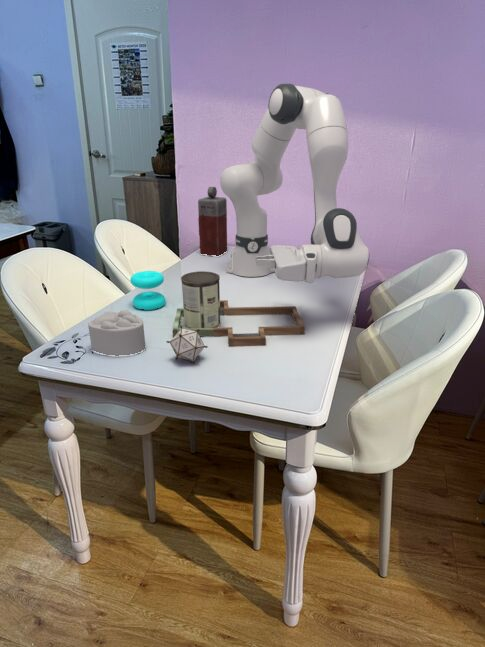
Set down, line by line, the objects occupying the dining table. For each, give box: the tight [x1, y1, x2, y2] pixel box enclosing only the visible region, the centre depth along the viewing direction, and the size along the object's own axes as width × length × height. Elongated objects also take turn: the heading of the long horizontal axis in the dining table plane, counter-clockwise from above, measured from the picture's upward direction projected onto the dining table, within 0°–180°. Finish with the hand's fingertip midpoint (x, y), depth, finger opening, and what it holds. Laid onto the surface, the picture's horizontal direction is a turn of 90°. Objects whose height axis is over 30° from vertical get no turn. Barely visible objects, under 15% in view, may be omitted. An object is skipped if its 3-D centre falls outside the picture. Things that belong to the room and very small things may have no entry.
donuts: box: [129, 270, 167, 311], centre depth 138 cm, size 10×10×10 cm
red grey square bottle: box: [197, 186, 228, 256], centre depth 191 cm, size 9×11×28 cm
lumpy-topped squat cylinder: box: [87, 309, 146, 356], centre depth 112 cm, size 10×13×9 cm
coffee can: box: [180, 270, 222, 328], centre depth 124 cm, size 10×10×14 cm
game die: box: [165, 324, 209, 365], centre depth 106 cm, size 9×8×10 cm
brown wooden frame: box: [172, 299, 306, 347], centre depth 126 cm, size 27×35×2 cm
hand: (255, 261), depth 120 cm, fingers closed
